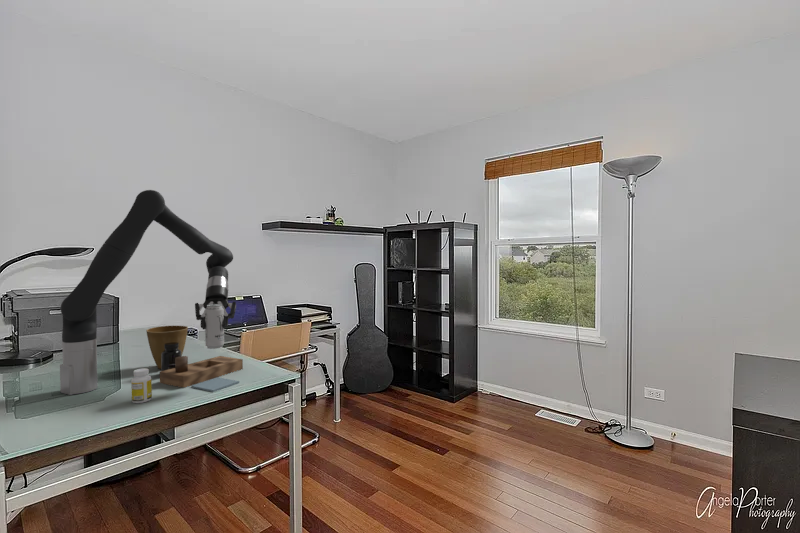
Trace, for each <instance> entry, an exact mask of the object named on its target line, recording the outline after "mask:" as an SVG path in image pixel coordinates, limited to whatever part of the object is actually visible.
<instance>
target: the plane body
mask: <svg viewBox="0 0 800 533" xmlns="http://www.w3.org/2000/svg"><path fill="white" fill-rule="evenodd" d="M188 358H189V356H188V355H182V356H180V357H176V358H175V368H172V369H168V370H165V371H161V370H160V371H159V384H164V385H169V386H172V385H173V387H177V386H178V387H179V388H182V387H183V388H182V389H184V387H185V388H188V387H190V386H192V385H195V384H198V383H200V382H205V381H208V380H211V379H214V378H217V377H219V376H220V377H223V376H225V374H226V375H229V374H232V373H235V372H238V371H241V369H242V370H243V369H244V368H243V365H244V364H243V363H244V362H243V359H242V358H236V357H231V356H230V357H229V356H223V355H218V356H214V357H211V358H207V359H204V360H200V361H196V362H192V363H189V362H188V361H189V359H188ZM237 370H238V371H237ZM234 371H235V372H234ZM231 372H232V373H231ZM228 373H229V374H228ZM222 375H223V376H222ZM220 377H219V378H220ZM187 386H188V387H187Z"/></svg>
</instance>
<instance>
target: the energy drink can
mask: <svg viewBox="0 0 800 533" xmlns="http://www.w3.org/2000/svg"><path fill="white" fill-rule="evenodd" d="M204 310H205V329H204V330H205V331H204V333H205V334H204V335H205V337H204V338H205V346H206V349H209V350H216V349H221V348H223V346H224V344H225V328H223V319H224V309H223V307H222V305H221V304H211V305H207V308H206V309H205V308H204Z"/></svg>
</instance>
